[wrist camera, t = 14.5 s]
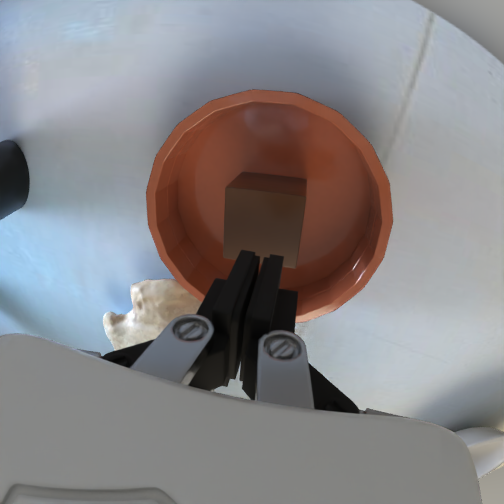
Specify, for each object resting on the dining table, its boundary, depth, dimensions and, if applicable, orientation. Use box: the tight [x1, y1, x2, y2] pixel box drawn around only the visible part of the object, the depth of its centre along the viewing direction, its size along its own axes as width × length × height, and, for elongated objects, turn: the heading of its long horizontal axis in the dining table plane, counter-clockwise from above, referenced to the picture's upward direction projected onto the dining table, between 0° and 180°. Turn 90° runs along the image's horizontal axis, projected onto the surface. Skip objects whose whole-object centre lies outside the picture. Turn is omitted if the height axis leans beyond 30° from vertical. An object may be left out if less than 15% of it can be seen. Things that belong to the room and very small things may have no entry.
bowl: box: [146, 89, 393, 323], centre depth 20 cm, size 15×15×4 cm
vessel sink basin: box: [454, 427, 504, 479], centre depth 30 cm, size 24×24×7 cm
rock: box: [103, 279, 202, 351], centre depth 29 cm, size 4×13×20 cm
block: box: [223, 171, 307, 268], centre depth 19 cm, size 4×4×4 cm
